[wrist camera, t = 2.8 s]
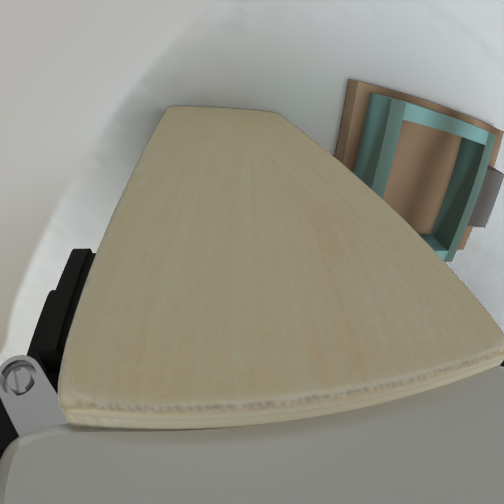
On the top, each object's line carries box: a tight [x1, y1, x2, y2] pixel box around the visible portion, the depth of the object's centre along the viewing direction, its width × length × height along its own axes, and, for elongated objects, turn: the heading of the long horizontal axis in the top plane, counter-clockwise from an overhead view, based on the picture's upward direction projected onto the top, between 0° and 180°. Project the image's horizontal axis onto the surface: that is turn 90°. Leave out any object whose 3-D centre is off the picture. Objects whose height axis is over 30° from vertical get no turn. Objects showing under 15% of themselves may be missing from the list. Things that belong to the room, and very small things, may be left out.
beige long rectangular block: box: [58, 106, 504, 430], centre depth 14 cm, size 8×7×21 cm
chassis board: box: [335, 79, 504, 262], centre depth 25 cm, size 18×14×4 cm
